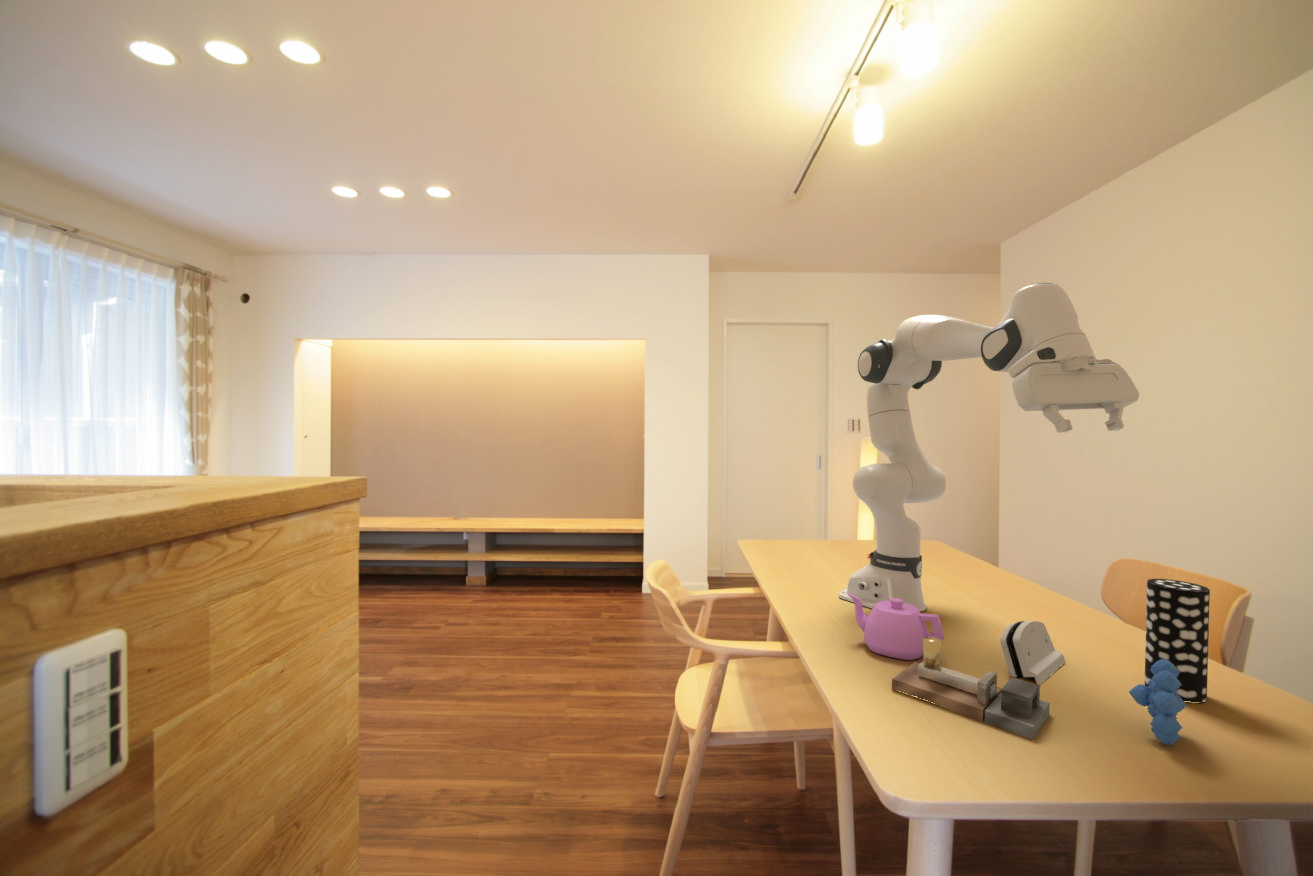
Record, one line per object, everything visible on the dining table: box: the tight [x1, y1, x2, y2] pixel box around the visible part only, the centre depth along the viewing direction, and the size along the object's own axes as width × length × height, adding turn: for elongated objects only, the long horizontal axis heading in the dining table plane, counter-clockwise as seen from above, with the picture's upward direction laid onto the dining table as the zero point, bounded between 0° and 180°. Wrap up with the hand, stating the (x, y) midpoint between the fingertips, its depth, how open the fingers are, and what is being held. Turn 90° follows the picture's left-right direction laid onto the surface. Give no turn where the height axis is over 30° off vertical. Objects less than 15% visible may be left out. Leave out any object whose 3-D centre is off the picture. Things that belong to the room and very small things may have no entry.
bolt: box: [918, 637, 995, 699], centre depth 98 cm, size 12×3×7 cm, turn 43°
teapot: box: [847, 593, 945, 661], centre depth 119 cm, size 13×20×11 cm, turn 55°
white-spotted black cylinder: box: [1144, 578, 1211, 702], centre depth 100 cm, size 8×8×20 cm
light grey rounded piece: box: [999, 620, 1066, 685], centre depth 111 cm, size 17×5×10 cm, turn 129°
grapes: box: [1128, 659, 1187, 746], centre depth 86 cm, size 12×7×12 cm, turn 140°
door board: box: [891, 661, 1051, 741], centre depth 96 cm, size 22×11×5 cm, turn 43°
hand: (1091, 430), depth 93 cm, fingers open, 8 cm apart
